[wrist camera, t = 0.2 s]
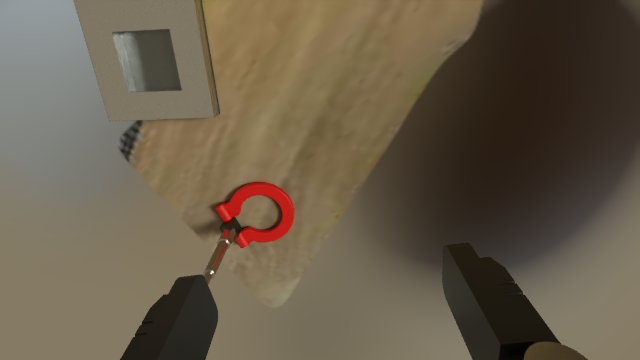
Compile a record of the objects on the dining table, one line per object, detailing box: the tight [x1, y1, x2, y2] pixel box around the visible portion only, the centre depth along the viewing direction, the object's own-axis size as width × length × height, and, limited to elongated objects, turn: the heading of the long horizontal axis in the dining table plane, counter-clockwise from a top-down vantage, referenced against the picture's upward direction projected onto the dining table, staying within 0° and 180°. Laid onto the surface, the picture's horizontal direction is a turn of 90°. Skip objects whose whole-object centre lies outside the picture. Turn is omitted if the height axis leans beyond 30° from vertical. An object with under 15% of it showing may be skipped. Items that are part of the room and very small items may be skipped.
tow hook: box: [203, 182, 294, 284], centre depth 37 cm, size 8×13×9 cm
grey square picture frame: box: [74, 0, 220, 121], centre depth 35 cm, size 12×12×2 cm
